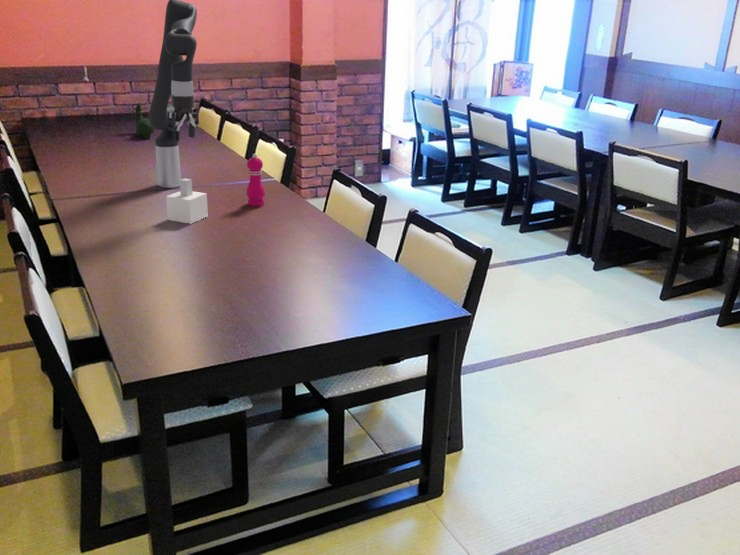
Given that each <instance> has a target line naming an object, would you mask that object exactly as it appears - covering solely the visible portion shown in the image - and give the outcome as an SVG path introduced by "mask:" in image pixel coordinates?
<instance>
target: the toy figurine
mask: <svg viewBox="0 0 740 555" xmlns="http://www.w3.org/2000/svg"><path fill="white" fill-rule="evenodd" d="M134 111H135V112H134V115H135V117H134V120H135V121H136V122H135V128H136V129H135V132H136V136H138V137H142V139H144V140H149V139H151V137H152V134H153V133H154V130H155V129H154V128H153V127H152V126H151V124H150V122H149V118H147V117H146V118H145V117H144V116H143V111H142V103H140V102H137V103H136V106H135V107H134Z"/></svg>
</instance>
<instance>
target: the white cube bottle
mask: <svg viewBox="0 0 740 555" xmlns="http://www.w3.org/2000/svg"><path fill="white" fill-rule="evenodd" d="M192 181H193V180H192V179H191V178H181V180H180V186H179V191H176V192H175V193H174V192H173V193H170V194H168V195H166V196H165V198H166V199H165V201H166V213H167V220H168V221H173V222H178V223H184V224H188V223H189V224H190V225H192V223H193V224H194V222H195V223H197V222H199V221H201V219H202V220H204V219H206V218H208V217H209V211H208V210H209V209H208V194H207V193H205V192H199V191H193V182H192ZM205 217H206V218H205ZM203 218H204V219H203ZM196 221H197V222H196Z"/></svg>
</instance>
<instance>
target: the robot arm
mask: <svg viewBox="0 0 740 555" xmlns="http://www.w3.org/2000/svg"><path fill="white" fill-rule="evenodd" d="M197 15H198V12H197V7H196V6H195V5H194V4H192V3H189V2H186V1H182V0H168V2H167V4H166V9H165V16H164V17H165V18H164V26H163V37H162V44H161V50H160V54H159V55H160V56H159V60H158V67H157V75H156V82H155V87H154V93H153V96H152V101H151V103H150V106H149V107H150V108H149V112H148V119H149V122H150V124H151V126H152V127H153V128H154V130H156V131H160V130H161V132H160V134H159V135H158V136H157V137H155V139H154V144H155V155H156V162H155V163H154V168H155V178H156V179H155V180H156V186H158V187H160V188H164V189H165V188H167V189H168V188H169V189H171V188H178V187H179V188H180V180H181V179H182V178H181V177H182V176H181V164H180V161H181V160H180V150H179V149H180V148H179V142H180V141H181V140H180V139H181V138H180V137H181V136H180V135H181V130H180V129H181V126H183V124H185V123H186V124H187V125H188V128H187V129H188V137H189V138H191V139H194V138H196V137H195V136H196V126H198V125H199V124H200V121H199V120H200V119H199V118H200V117H199V109H198V108H197V107H195V101H194V100H195V99H194V98H195V97H194V83H193V63H194V62H193V61H194V58H195V54H196V50H197V44H198V43H197V40H196V38H195V37H194V36H193V35H192V34H193V33H192V32H193V30H194V27H195V25H196V22H197ZM183 56H186V57H185V59H184V57H183ZM170 99H171V104H169V101H170Z"/></svg>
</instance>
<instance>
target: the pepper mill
mask: <svg viewBox="0 0 740 555" xmlns="http://www.w3.org/2000/svg"><path fill="white" fill-rule="evenodd" d="M263 165H264V162H263V161H262V159H261V158H258V155H257V153H252V157H251V158H249V159H248V160H247V163H246V167H247V169H248V174H249V183H248V186H247V188H246V196H247V198H248V199H247V204H248V206H250V205H251V206H252V207H260V206H263V205H265V199H264V198H265V195H266V191H265V187H264V185H263V182H262V178H261V175H262V174H263V173H262V168H263Z"/></svg>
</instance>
